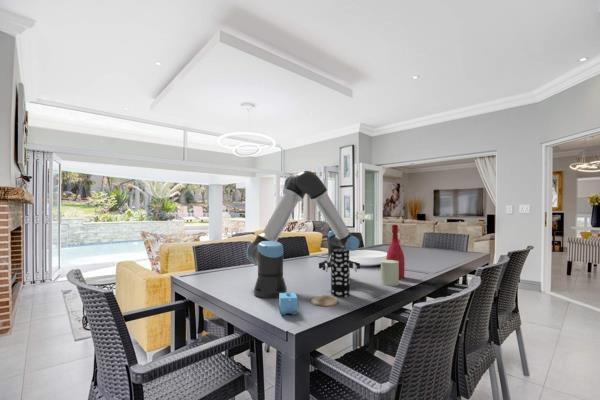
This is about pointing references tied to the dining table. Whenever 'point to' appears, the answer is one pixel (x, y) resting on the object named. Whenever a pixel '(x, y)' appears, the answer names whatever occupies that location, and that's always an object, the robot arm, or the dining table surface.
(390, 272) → the can
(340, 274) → the white-spotted black cylinder
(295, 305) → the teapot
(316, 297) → the birch coaster
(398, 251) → the wine bottle
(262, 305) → the dining table surface
